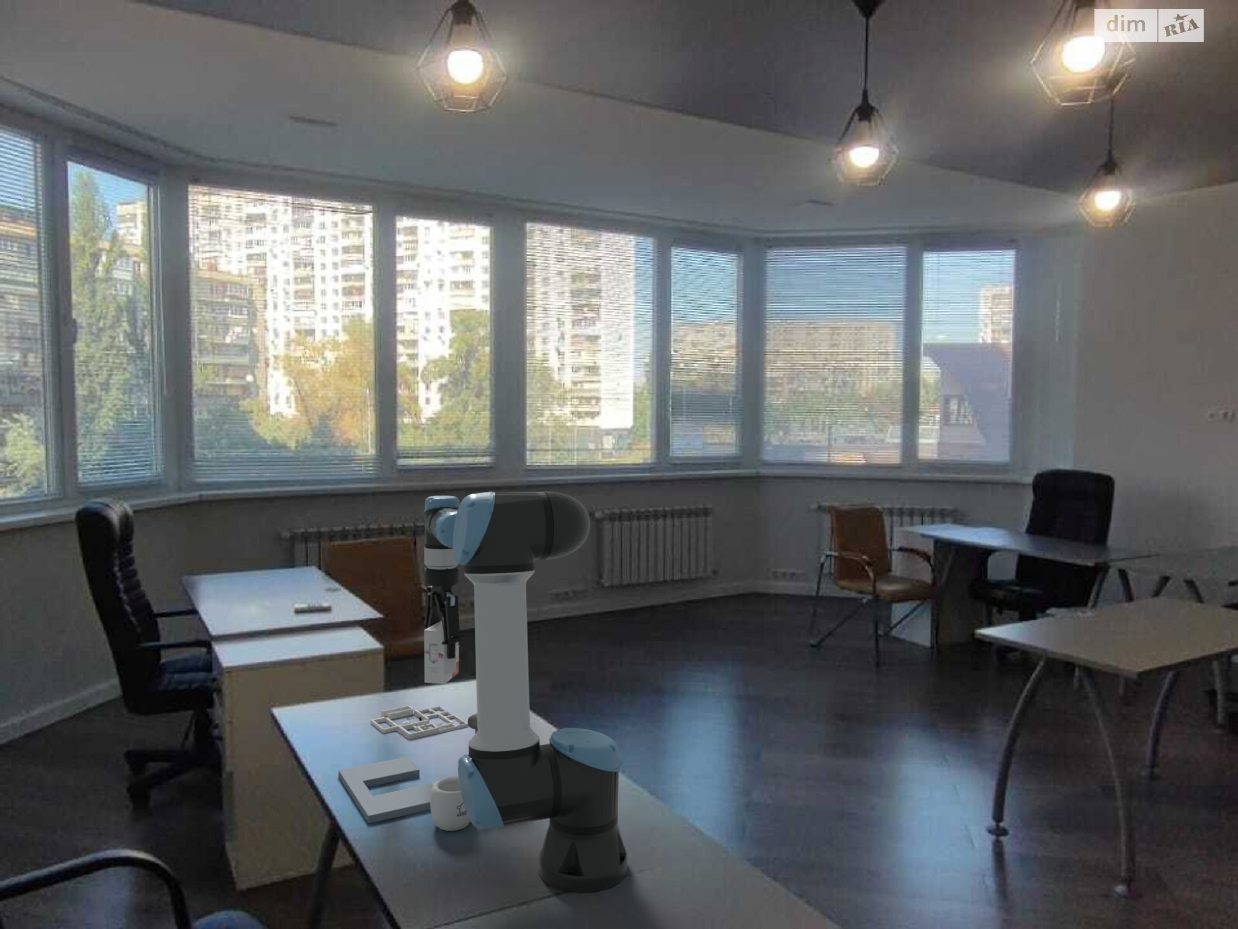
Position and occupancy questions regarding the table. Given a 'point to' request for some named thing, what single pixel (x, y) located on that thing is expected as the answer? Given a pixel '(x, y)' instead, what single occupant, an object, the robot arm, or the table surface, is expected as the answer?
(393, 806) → the notched board
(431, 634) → the ink cartridge box
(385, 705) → the table surface
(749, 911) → the table surface
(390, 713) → the floor plan model
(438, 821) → the mug
